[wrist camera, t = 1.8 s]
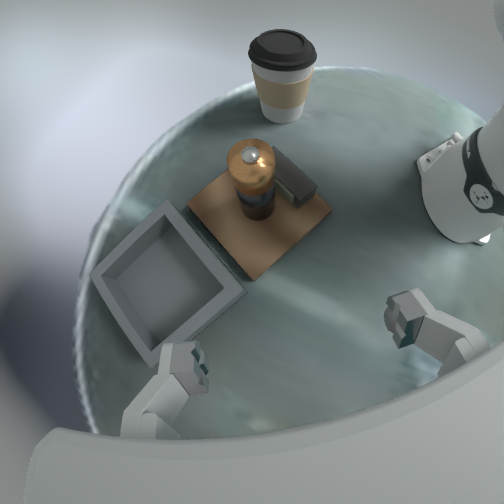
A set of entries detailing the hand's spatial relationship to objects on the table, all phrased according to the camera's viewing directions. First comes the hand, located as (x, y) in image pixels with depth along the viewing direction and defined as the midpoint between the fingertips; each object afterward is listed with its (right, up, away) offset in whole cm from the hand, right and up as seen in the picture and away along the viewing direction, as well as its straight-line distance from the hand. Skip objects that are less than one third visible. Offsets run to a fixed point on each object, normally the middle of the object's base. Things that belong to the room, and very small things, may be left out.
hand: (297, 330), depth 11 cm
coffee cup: (+3, +27, +30) cm, 40 cm away
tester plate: (-1, +9, +26) cm, 28 cm away
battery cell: (-1, +9, +25) cm, 27 cm away
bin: (-13, -1, +25) cm, 28 cm away
